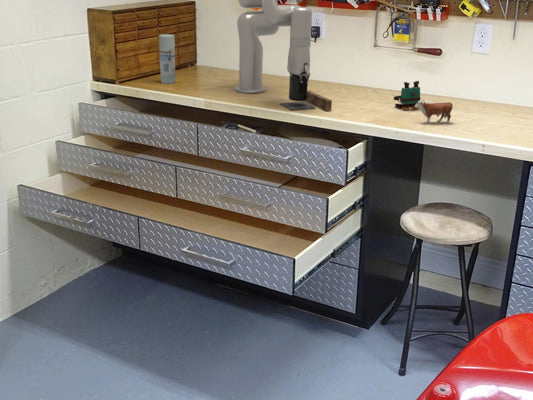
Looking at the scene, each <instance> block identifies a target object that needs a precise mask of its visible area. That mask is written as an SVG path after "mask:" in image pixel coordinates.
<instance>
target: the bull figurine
mask: <svg viewBox="0 0 533 400" xmlns="http://www.w3.org/2000/svg"><path fill="white" fill-rule="evenodd" d="M415 107H416V108H419V109H418V110H421V113H422V114H423V115H424V116H425V117H426V121H425V122H424V125H428V124H429V122H430V120H431V117H433V116H436V117H437V118H439V117H440V118H439V119H438V120H437V122H438V123H440V122H442V121H443V119H447V120H446V121H445V125H446V124H449V123H450V120H451V117H452V114H451V112H452V110H453V103H451V102H433V101H429V100H424V99H421V98H420V101H419V102H418V103H417V104H416V105H415Z"/></svg>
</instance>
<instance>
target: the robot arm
mask: <svg viewBox="0 0 533 400" xmlns="http://www.w3.org/2000/svg"><path fill="white" fill-rule="evenodd" d="M238 2H239V5H240V7H242V8H244V9H261V10H260V11H258V10H257V11H256V10H255V11H246V12H243V13H241V14H240V15H239V16H238V17H237V20H236V23H237V24H236V25H237V32H238V40H239V44H238V45H239V61H238V62H239V63H238V65H239V66H238V67H239V68H238V70H239V73H238V76H239V77H238V85H237V86H235V88H234V89H235V91H236V92H238V93H241V94H260V93H264V92H266V89H267V88H266V87H265V86H263V64H264V63H263V62H264V61H263V60H264V52H263V51H264V47H263V44H262V42H261V40H260V39H259V37H261V36H263V37H265V36H272V35H275V34H277V32H278V31H279V28H280V27H289V30H290V32H289V33H290V34H289V48H288V54H287V55H288V56H287V67H286V68H287V72H288V73H289V77H290V76H291V75H292V74H294V75H299V78H300V83H299V94H304V93H307V91H308V88H307V83H308V84H309V80H310V77H311V72H310V71H311V70H310V69H311V51H310V50H311V49H310V48H311V42H312V39H311V37H312V18H313V16H312V15H313V11H312V8H310V7H307V6H301V5H297V4H279V3H278V0H238ZM302 73H305V74H302ZM302 76H304V77H303V79H302Z"/></svg>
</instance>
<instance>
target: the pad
mask: <svg viewBox="0 0 533 400" xmlns="http://www.w3.org/2000/svg"><path fill="white" fill-rule="evenodd" d="M279 106H281V107H284V108H286V109H287V110H289V111H303V110H304V111H305V110H315V109H316V106H314V105H312V104H310V103H308V102H305V101H291V102H280V103H279Z"/></svg>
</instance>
